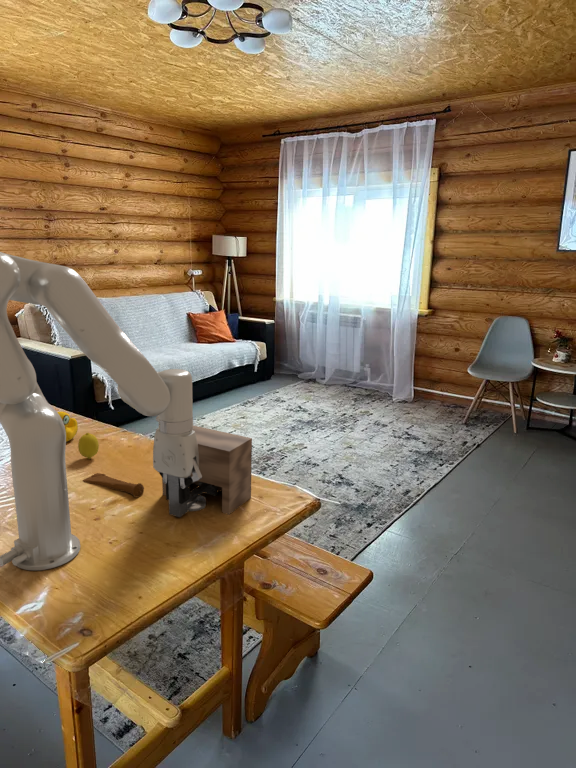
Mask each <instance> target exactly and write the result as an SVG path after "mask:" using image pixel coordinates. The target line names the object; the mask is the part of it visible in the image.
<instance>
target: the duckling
mask: <svg viewBox="0 0 576 768" xmlns="http://www.w3.org/2000/svg"><path fill="white" fill-rule="evenodd" d="M56 412H57V413H58V414H59V415H60V417H61V419H62V421H63V423H64V426H65V431H66V443H68V442H69V441H71V440H73V438H75V436H77V434H78V432H79V431H78V430H79V429H78V427H79V426H78V421H77V419H76V418H75V417H71V416H70V414H69V413H68V412H65V411H62V410H61V411H56Z"/></svg>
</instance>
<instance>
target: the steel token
mask: <svg viewBox="0 0 576 768" xmlns="http://www.w3.org/2000/svg"><path fill="white" fill-rule="evenodd" d="M187 506H188V512H198V511H199V512H200V511H201V509H202V510H203V509H205V508H206V507H205V506H207V499H206V497H205V496H203V495H202V494H201V495H199V496H198V497H196V498H195V499H193V500H192V501H190V502H189V503H187Z"/></svg>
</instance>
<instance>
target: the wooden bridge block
mask: <svg viewBox="0 0 576 768" xmlns="http://www.w3.org/2000/svg"><path fill="white" fill-rule="evenodd" d="M193 431H195V434H196V438H197V444H198V452H199V470H200V473H201V475H202V478H201V479H199V480H198V481H195V482H193V483H192V484H193V485H197V486H199V482H204V483H208V484H211V485H215V486H218V492H221V491H222V492H221V498H222V499H221V509H222V510H221V513H222V512H223V514H226V513H227V515H231V514H232V513H233V512H235V511H236V510H237V509H239V508H240V507H241V506H243V505H244V504H245V503H246V502H247V501H248V500H250V499H252V469H253V468H252V467H253V466H252V463H253V462H252V460H253V459H252V458H253V457H252V456H253V455H252V454H253V453H252V452H253V451H252V450H253V438H252V437H250V436H249V437H247V436H243V435H239V434H234V433H230V432H225V431H222V430H221V431H220V430H215V429H212V428H207V427H202V426H198V425H194V424H193ZM191 476H193V474H192V472H191ZM161 482H162V483H161V484H162V488H161V489H162V495H163V496H165V497H166V484H165V483H164V482H163V478H162V477H161ZM192 484H191V485H192ZM243 503H244V504H243ZM239 506H240V507H239ZM235 509H236V510H235ZM231 512H232V513H231ZM230 513H231V514H230Z"/></svg>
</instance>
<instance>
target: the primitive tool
mask: <svg viewBox="0 0 576 768" xmlns="http://www.w3.org/2000/svg"><path fill="white" fill-rule="evenodd" d="M82 482H84V483H87V484H91V485H97V486H100V487H105V488H108V489H111V490H115V491H121V492H124V493H128V494H131V495H133V497H134V498H138V497H141V496H142V495H143V494H144V491H145V487H144V485H143V483H141V482H140V483H133V482H132V483H131V482H126V481H124V480H120V479H117V478H114V477H111V476H108V475H106V474H105V473H100V472H97V473H93V474H92V475H91V476H89V477H87V478H84V479H83V480H82Z"/></svg>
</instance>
